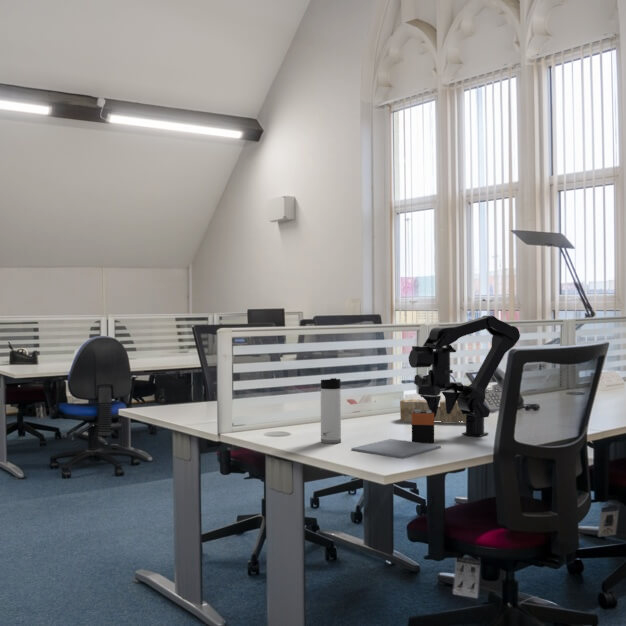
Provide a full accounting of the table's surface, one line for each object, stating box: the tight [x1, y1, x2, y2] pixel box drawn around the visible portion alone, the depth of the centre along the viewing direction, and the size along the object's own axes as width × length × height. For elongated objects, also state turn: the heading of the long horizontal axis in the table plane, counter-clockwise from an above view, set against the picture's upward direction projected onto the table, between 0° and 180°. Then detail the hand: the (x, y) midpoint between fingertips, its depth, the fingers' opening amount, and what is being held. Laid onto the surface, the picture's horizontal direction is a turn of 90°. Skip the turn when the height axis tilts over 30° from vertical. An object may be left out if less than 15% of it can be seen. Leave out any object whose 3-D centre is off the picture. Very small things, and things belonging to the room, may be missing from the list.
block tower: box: [399, 398, 466, 423], centre depth 269 cm, size 8×8×29 cm
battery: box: [411, 409, 435, 444], centre depth 226 cm, size 4×7×10 cm, turn 80°
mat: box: [351, 438, 442, 459], centre depth 215 cm, size 20×18×1 cm
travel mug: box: [320, 377, 342, 445], centre depth 227 cm, size 6×7×20 cm
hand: (441, 415), depth 234 cm, fingers open, 9 cm apart
